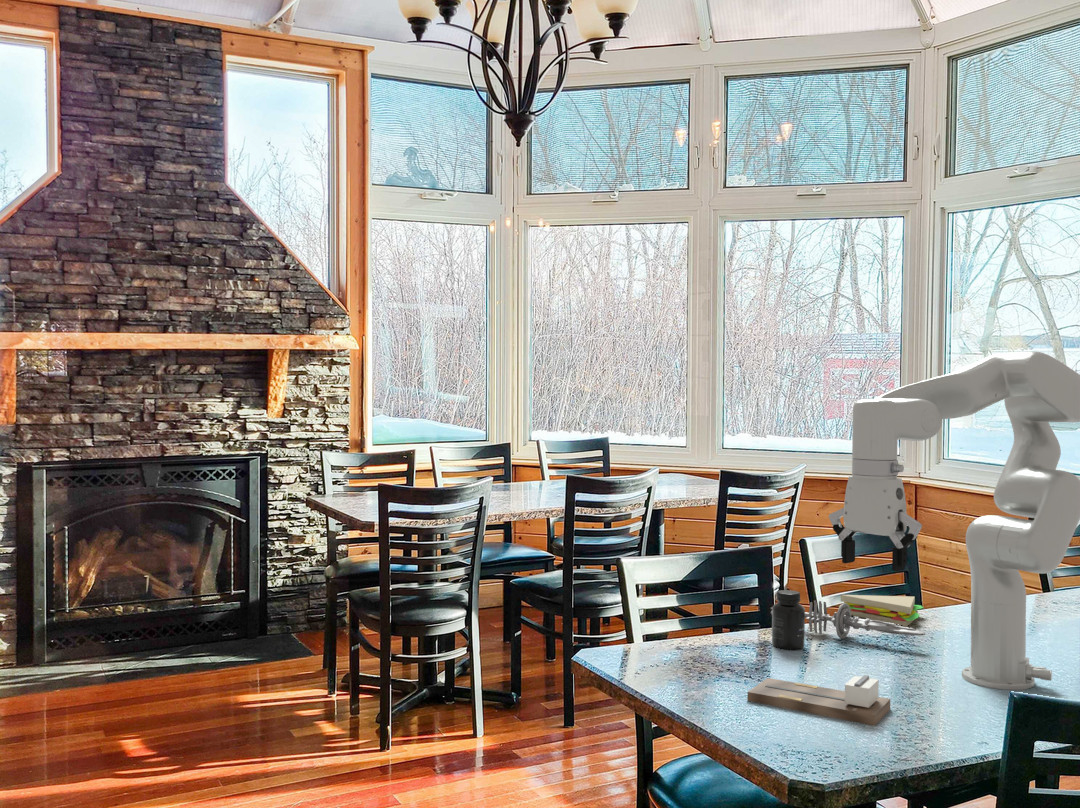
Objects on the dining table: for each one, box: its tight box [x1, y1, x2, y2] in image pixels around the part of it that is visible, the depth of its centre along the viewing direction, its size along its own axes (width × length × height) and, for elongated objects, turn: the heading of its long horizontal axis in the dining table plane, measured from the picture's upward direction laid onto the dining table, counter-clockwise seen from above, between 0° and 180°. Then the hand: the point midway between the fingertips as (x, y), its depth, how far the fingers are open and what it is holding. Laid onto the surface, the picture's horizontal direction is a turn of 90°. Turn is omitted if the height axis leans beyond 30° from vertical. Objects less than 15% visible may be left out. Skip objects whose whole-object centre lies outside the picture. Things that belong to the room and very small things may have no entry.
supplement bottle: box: [771, 589, 806, 651], centre depth 208 cm, size 7×7×12 cm
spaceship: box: [769, 600, 926, 640], centre depth 215 cm, size 8×35×8 cm, turn 51°
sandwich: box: [838, 594, 924, 627], centre depth 236 cm, size 15×20×5 cm
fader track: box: [747, 677, 891, 726], centre depth 169 cm, size 22×10×2 cm, turn 56°
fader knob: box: [844, 674, 879, 708], centre depth 165 cm, size 4×6×4 cm, turn 146°
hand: (873, 566), depth 170 cm, fingers open, 9 cm apart
